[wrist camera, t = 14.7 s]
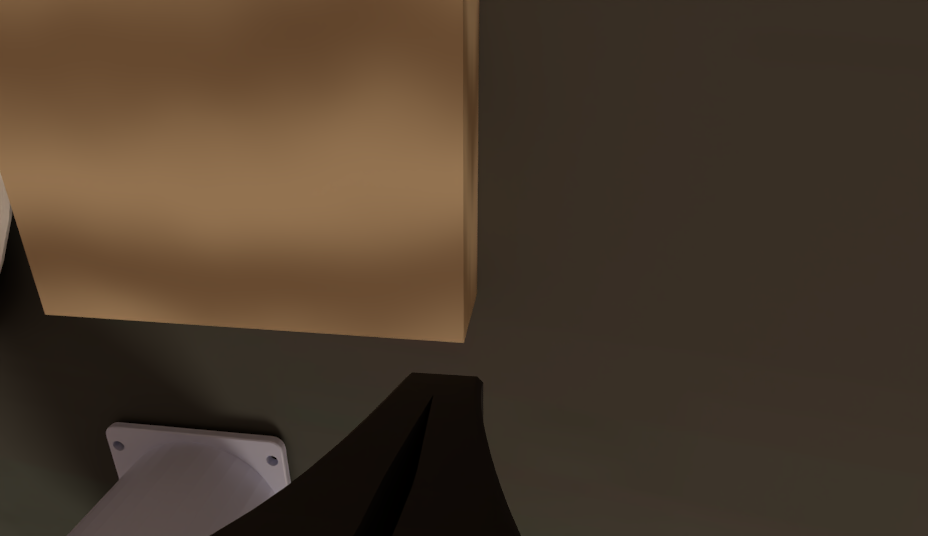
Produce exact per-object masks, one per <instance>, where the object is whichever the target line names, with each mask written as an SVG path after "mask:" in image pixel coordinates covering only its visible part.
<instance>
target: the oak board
mask: <svg viewBox="0 0 928 536" xmlns="http://www.w3.org/2000/svg"><path fill="white" fill-rule="evenodd" d="M478 85H479V0H0V173H1V176H2V179H3V182H4V186H5V189H6V192H7V195H8V198H9V201H10V205H11V208H12V211H13V214H14V217H15V220H16V224H17V227H18V230H19V233H20V236H21V239H22V243H23V246H24V249H25V252H26V255H27V258H28V262H29V265H30V268H31V271H32V274H33V277H34V281H35V284H36V287H37V290H38V293H39V296H40V300H41V303H42V306H43V309H44V312H45V315H59V316H74V317H88V318H103V319H118V320H133V321H148V322H162V323H177V324H192V325H207V326H222V327H237V328H251V329H266V330H281V331H296V332H311V333H325V334H340V335H355V336H370V337H385V338H399V339H414V340H429V341H444V342H459V343H464V340H465V336H466V332H467V328H468V325H469V321H470V317H471V313H472V310H473V306H474V302H475V299H476V295H477V215H478Z"/></svg>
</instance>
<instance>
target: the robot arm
mask: <svg viewBox="0 0 928 536" xmlns="http://www.w3.org/2000/svg"><path fill="white" fill-rule="evenodd" d="M106 436H107V440H108V443H109V447H110V450H111V453H112V457H113V460H114V463H115V467H116V470H117V473H118V477H119V481H118V482H117V483H116V484H115V485H114V486H113V487H112V488H111V489H110V490H109V491H108V492H107V493H106V494H105V496H104V497H103V498H102V499H101V500H100V501H99V502H98V503H97V504H96V505H95V506H94V507H93V508H92V509H91V510H90V512H89V513H88V514H87V515H86V516H85V517H84V518H83V519H82V520H81V521H80V522H79V523H78V524H77V525H76V526H75V527H74V529H73V530H72V531H71V532H70V533H69V534H68V535H67V536H521V535H520V533H519V531H518V528H517V526H516V524H515V521H514V519H513V517H512V515H511V512H510V510H509V507H508V505H507V502H506V499H505V497H504V494H503V491H502V489H501V486H500V483H499V480H498V477H497V474H496V471H495V468H494V464H493V461H492V458H491V454H490V450H489V446H488V442H487V438H486V434H485V429H484V423H483V382H482V381H481V380H480V379H479V378H478V377H474V376H458V375H442V374H427V373H411V374H410V375H409V376H408V377H407V378H406V379H405V380H404V381H403V382H402V383H401V384H400V385H399V386H398V387H397V388H396V389H395V390H394V391H393V392H392V393H391V394H390V395H389V396H388V397H387V398H386V399H385V400H384V401H383V402H382V403H381V404H380V405H379V406H378V407H377V408H376V409H375V410H374V411H373V412H372V413H371V414H370V415H369V416H368V417H367V418H366V419H365V420H363V421H362V422H361V423H360V424H359V425H358V426H357V427H356V428H355V429H354V430H353V431H352V432H351V433H350V434H349V435H348V436H347V437H345V438H344V439H343V440H342V441H341V442H340V443H339V444H338V445H336V446H335V447H334V448H333V449H332V450H331V451H329V452H328V453H327V454H326V455H325V456H323V457H322V458H321V459H320V460H319V461H318V462H316V463H315V464H314V465H313V466H312V467H310V468H309V469H308V470H307V471H306V472H304V473H303V474H302V475H300V476H299V477H298V478H297V479H295V480H294V481H293V482H291V480H290V474H289V467H288V460H287V454H286V447H285V444H284V442H283V441H282V440H281V439H279V438H278V437H274V436H266V435H255V434H244V433H233V432H222V431H211V430H200V429H189V428H178V427H167V426H156V425H145V424H134V423H123V422H115V423H113V424H112V425H111V426H109V427H108V428H107V430H106ZM271 456H274V457H275V458H277V459H274V458H273V457H271Z"/></svg>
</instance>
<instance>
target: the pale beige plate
mask: <svg viewBox="0 0 928 536" xmlns="http://www.w3.org/2000/svg"><path fill="white" fill-rule="evenodd" d="M11 219H12V208H11V205H10V201H9V198H8V195H7V192H6V189H5V186H4V182H3V179H2V176H1V173H0V272H1V269H2V265H3V262H4V257H5V251H6V246H7V241H8V235H9V230H10V224H11Z"/></svg>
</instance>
